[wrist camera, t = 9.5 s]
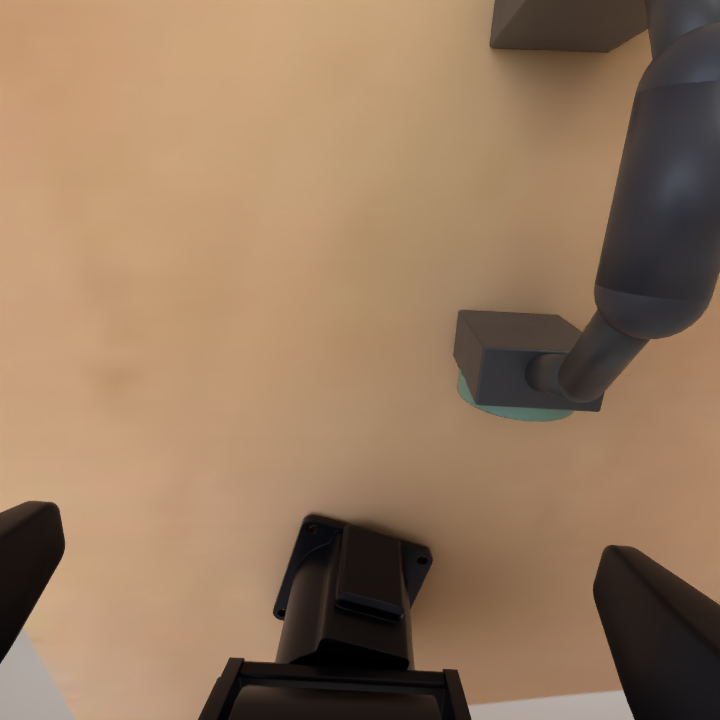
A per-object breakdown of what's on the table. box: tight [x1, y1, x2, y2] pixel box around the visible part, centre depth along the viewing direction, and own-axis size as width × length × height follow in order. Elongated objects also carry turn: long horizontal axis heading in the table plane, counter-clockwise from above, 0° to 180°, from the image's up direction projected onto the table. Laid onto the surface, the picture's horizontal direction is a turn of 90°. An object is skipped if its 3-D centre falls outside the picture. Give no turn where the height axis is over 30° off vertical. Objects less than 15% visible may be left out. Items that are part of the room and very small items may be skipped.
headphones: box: [453, 0, 720, 421], centre depth 13 cm, size 4×14×10 cm, turn 177°
